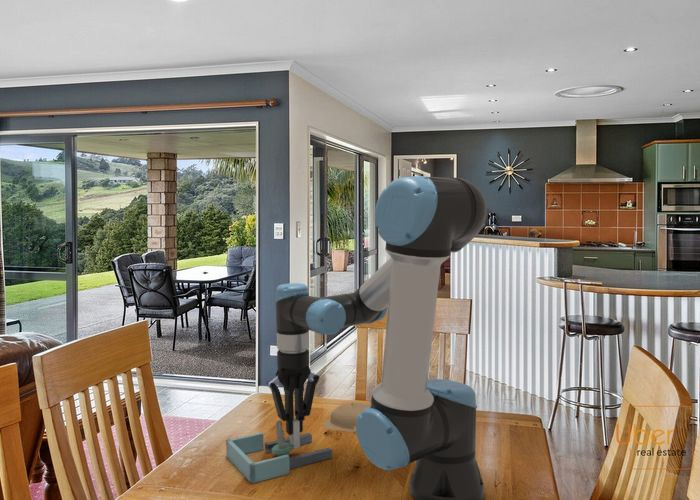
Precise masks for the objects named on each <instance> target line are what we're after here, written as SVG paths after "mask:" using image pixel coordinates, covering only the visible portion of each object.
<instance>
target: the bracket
mask: <svg viewBox="0 0 700 500" xmlns="http://www.w3.org/2000/svg"><path fill="white" fill-rule="evenodd" d="M225 442H226V445H225V446H226V448H225V450H226V457H227V459H228V460H229V461H230V462H231V463H232V464H233V465H234V467H235V468H237V469H238V471H239V472H240V473H241V474H242V476H244V478H246V480H248V481H249V483H250V484H255V483H260V482H263V481H266V480H270V479H274V478H278V477H283V476H285V475H289V474H290V469H289V457H290V454H289V455H283V456H279V457H278V456H276V457H273V458H272V457H271V458H269V459H263V460H259V461H255V462H253V460H251V459H250V458H249V457H248V456H247V455H246V454H251V453H255V452H260V451H262V450H264V451H265V445H264V433H263V432H257V433H253V434H248V435H243V436H240V437H239V436H238V437H234V438H230V439H229V438H228V439H227V440H225Z"/></svg>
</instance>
